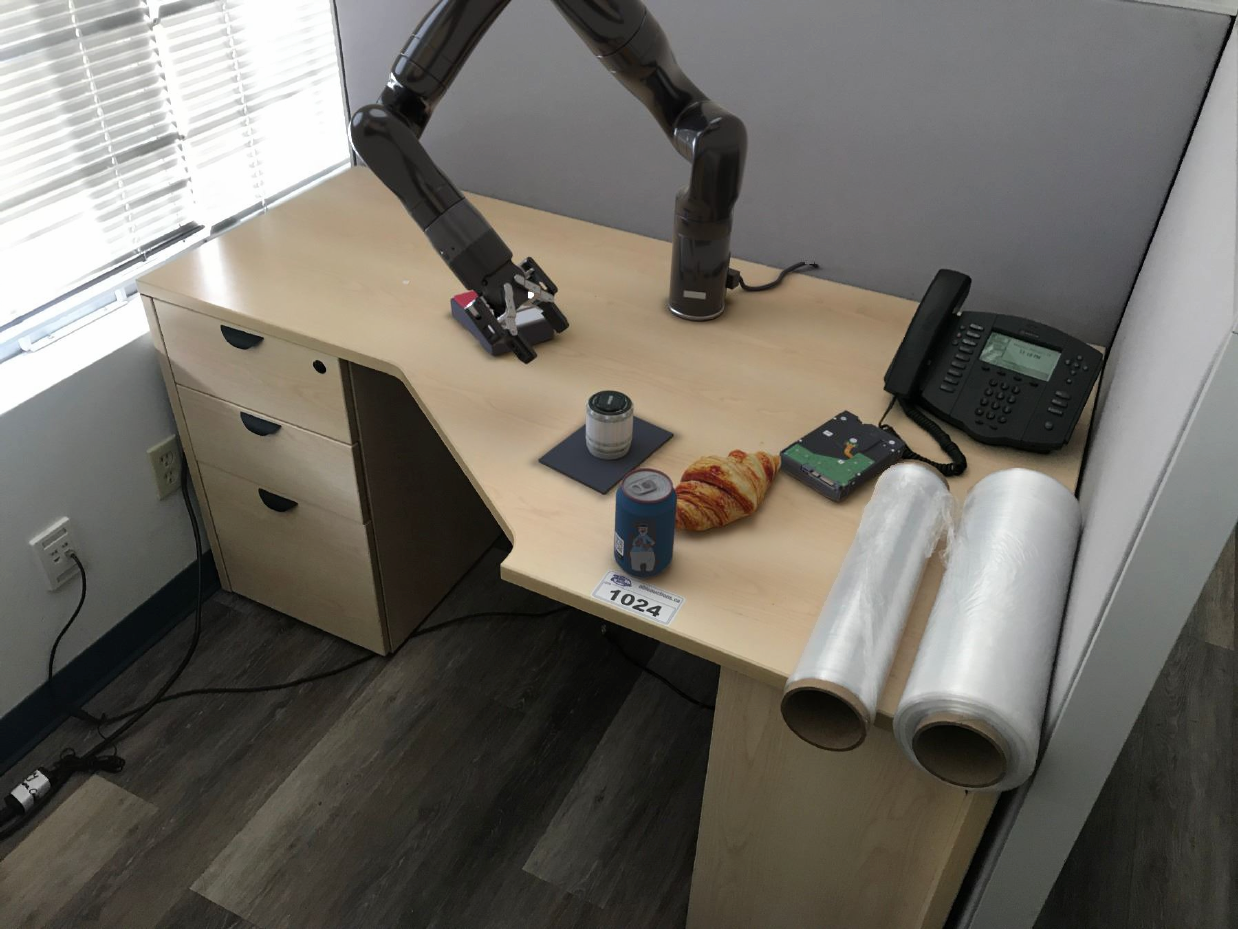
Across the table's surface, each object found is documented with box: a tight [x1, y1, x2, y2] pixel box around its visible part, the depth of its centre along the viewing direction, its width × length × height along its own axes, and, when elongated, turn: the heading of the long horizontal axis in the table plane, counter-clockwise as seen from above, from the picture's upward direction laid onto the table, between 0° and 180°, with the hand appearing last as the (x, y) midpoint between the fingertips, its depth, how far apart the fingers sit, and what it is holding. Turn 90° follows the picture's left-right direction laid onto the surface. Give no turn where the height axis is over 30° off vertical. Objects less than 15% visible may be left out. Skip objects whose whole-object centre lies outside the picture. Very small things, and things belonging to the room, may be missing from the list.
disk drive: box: [778, 409, 907, 502], centre depth 132 cm, size 10×3×15 cm
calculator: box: [449, 290, 555, 357], centre depth 157 cm, size 11×4×15 cm
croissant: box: [674, 448, 781, 532], centre depth 124 cm, size 21×10×8 cm, turn 132°
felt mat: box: [537, 415, 675, 495], centre depth 134 cm, size 16×11×1 cm
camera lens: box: [585, 389, 635, 460], centre depth 131 cm, size 6×6×8 cm
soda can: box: [613, 467, 677, 579], centre depth 113 cm, size 7×7×12 cm
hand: (548, 344), depth 128 cm, fingers open, 8 cm apart
